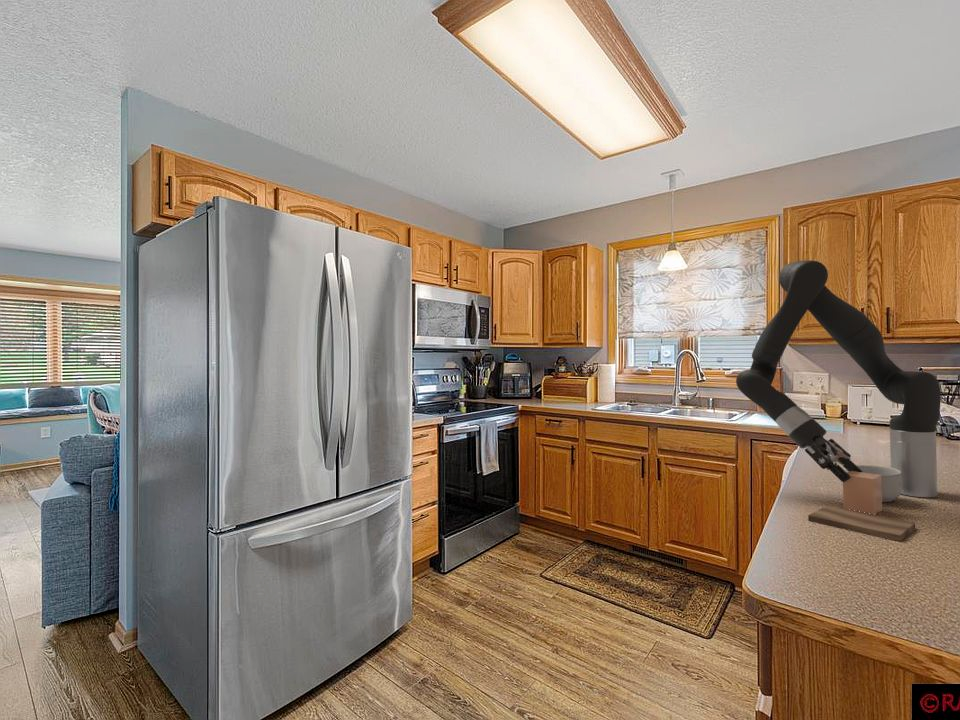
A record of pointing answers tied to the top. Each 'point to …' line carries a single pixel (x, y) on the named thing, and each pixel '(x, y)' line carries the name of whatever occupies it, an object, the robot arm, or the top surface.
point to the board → (863, 522)
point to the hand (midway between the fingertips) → (853, 477)
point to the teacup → (885, 480)
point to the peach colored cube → (863, 492)
